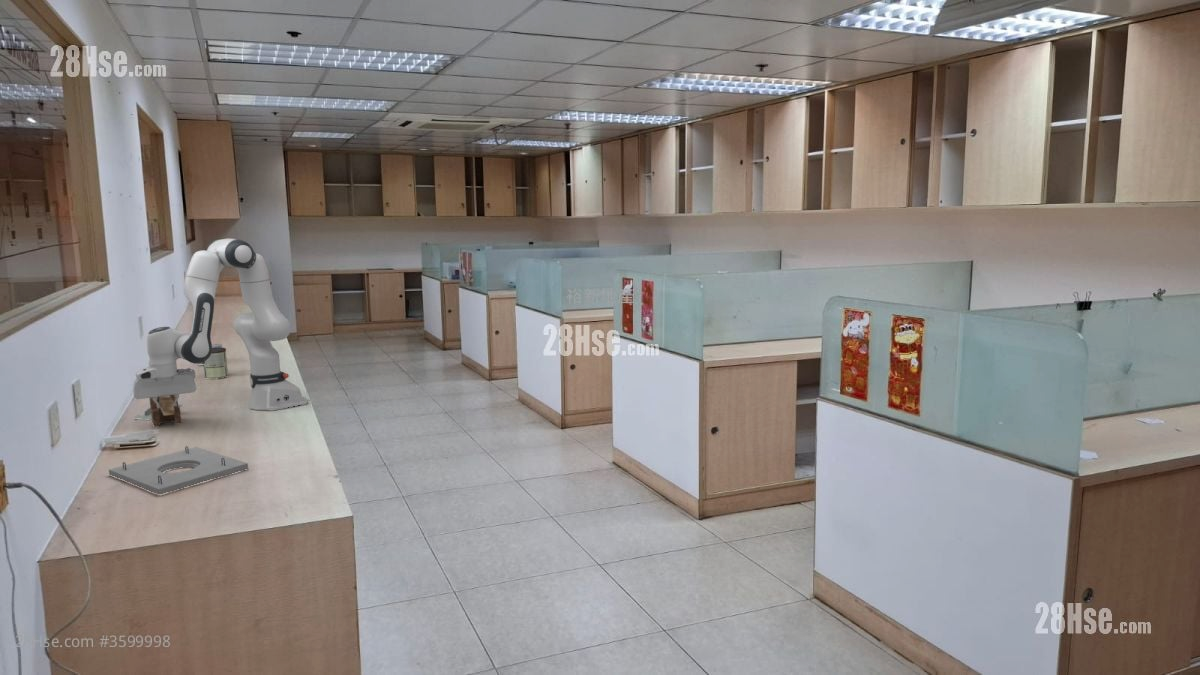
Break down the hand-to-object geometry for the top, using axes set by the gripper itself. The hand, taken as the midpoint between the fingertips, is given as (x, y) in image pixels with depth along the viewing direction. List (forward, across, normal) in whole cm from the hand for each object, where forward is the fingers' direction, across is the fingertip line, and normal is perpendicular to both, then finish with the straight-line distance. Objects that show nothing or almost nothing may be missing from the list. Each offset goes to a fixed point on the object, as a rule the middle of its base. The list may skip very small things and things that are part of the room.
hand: (166, 407), depth 279 cm
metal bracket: (+8, +1, -20) cm, 22 cm away
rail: (+2, 0, 0) cm, 2 cm away
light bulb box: (+8, -33, -122) cm, 127 cm away
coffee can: (+8, -30, -86) cm, 91 cm away
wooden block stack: (+8, 0, -8) cm, 11 cm away
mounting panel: (+9, +3, +59) cm, 60 cm away
